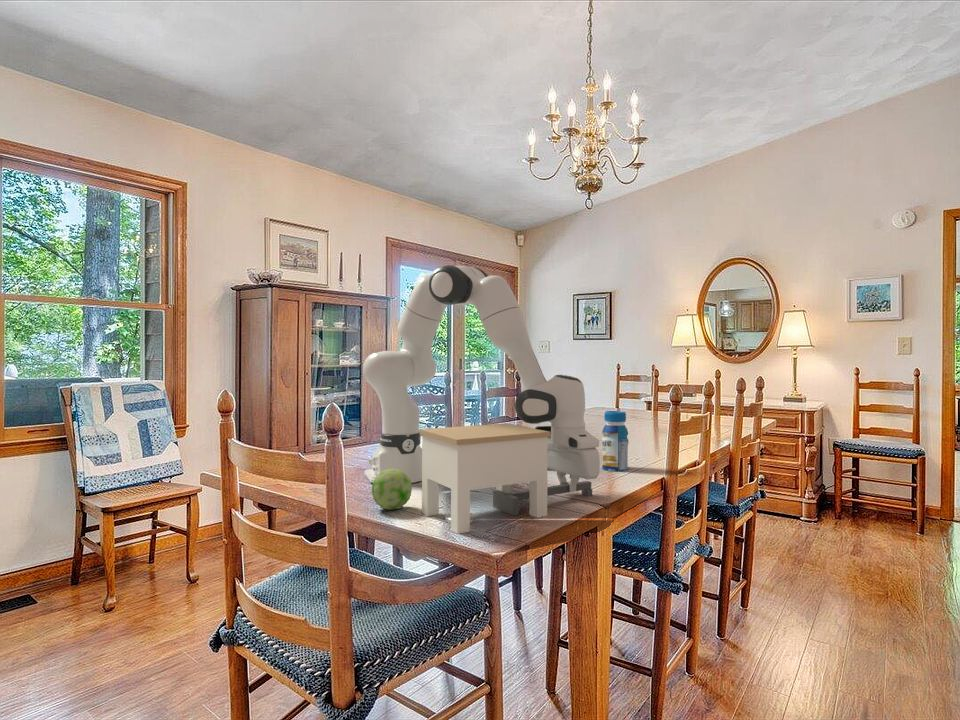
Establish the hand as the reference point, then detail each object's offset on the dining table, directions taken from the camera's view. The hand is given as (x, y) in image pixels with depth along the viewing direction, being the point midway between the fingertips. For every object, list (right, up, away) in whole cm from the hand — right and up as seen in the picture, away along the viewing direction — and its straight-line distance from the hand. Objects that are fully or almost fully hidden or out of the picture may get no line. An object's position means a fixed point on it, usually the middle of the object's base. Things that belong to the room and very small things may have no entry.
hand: (568, 490), depth 145 cm
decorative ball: (-45, -3, -8) cm, 46 cm away
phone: (-1, -3, +37) cm, 37 cm away
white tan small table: (-22, -3, -13) cm, 26 cm away
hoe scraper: (-5, -3, -3) cm, 6 cm away
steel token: (-28, -3, -17) cm, 32 cm away
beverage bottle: (+21, -3, +35) cm, 40 cm away
